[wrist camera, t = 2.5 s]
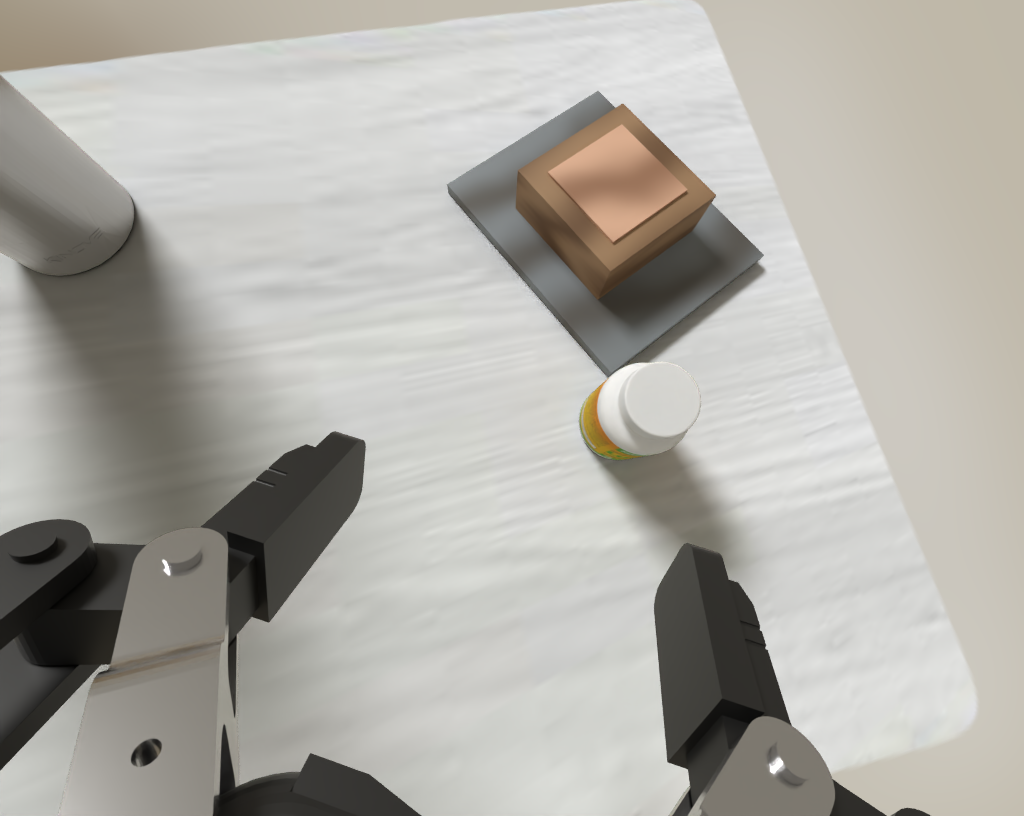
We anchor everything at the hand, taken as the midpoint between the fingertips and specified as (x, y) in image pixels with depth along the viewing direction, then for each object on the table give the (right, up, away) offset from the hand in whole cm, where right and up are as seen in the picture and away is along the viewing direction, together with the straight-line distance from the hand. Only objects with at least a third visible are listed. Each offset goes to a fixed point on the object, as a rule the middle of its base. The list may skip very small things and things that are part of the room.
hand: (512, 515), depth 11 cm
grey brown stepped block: (+7, +17, +26) cm, 32 cm away
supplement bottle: (+7, +2, +22) cm, 23 cm away
